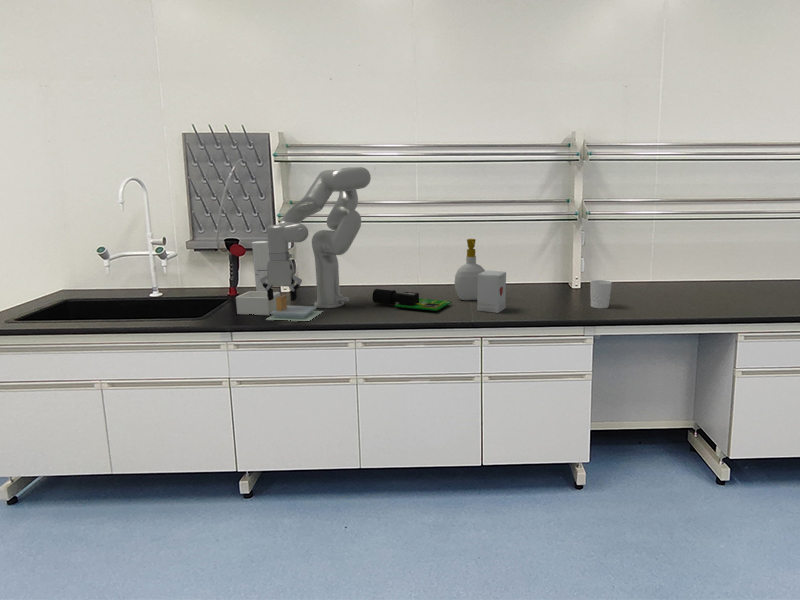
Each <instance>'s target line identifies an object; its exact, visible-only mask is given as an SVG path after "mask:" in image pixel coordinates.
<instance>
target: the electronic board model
mask: <svg viewBox="0 0 800 600" xmlns="http://www.w3.org/2000/svg"><path fill="white" fill-rule="evenodd" d="M372 301H373V303H375V304H380V305H381V304H382V305H391V306H394V307H397V308H399V310H405V309H407V310H406V311H414V310H416V309H417V310H424V311H425V310H426V311H428V310H429V311H434V312H435V311H437V312H438V311H439V310H441V309H442V308H445V307H446V306H448V305H450V304H451V303H453V301H450V300H443V299H442V300H440V299H430V298H421V297H420V293H419V292H413V291H412V292H409V291H405V292H402V293H401V292H397V291H396V290H395V289H388V288H387V289H386V288H375V289H374V290H373V292H372Z"/></svg>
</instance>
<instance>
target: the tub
mask: <svg viewBox="0 0 800 600" xmlns="http://www.w3.org/2000/svg"><path fill="white" fill-rule="evenodd" d="M273 296H274V299H272V300H268V296H267V292H258V291H256V290H255V291H252V290H249V291H247V292H244V293H242V294H240V295H237V296H236V297H235V304H236V305H235V306H236V313H237V315H249V314H252V315H253V314H254V315H255V316H256V315H257V316H271V315H270V312H272V311H274V310H276V309H277V305H276V298H277V297H279V296H281V292H280V291H279V292H278V291H273ZM254 315H253V316H254Z"/></svg>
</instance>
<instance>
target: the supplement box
mask: <svg viewBox="0 0 800 600" xmlns="http://www.w3.org/2000/svg"><path fill="white" fill-rule="evenodd" d="M506 289H507V271H502V270H501V271H498V270H497V271H496V270H485V271H484V272H481V273H480V274H478V300H477V302H476V303H477V307H476V308H477V309H476V310H477V311H478V312H485V313H494V314H496V313H497V314H498V313H500V312H502V311H504V310H505V309H506V298H507V296H506V295H507V290H506Z"/></svg>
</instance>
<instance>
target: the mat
mask: <svg viewBox="0 0 800 600" xmlns="http://www.w3.org/2000/svg"><path fill="white" fill-rule="evenodd" d="M322 312H323V313H324V310H313V311H312V313H311V314H310V315H308V316H307V317H305V318H304V319H303V318H279V317H275V315H274V314H271V315H269V317H267V318H266V319H265V321H274V320H288V321H287V322H297V321H310V320H311V321H313V320H314V319H316V318H317V317H318V315H319V314H320V315H321V313H322ZM323 313H322V314H323ZM320 315H319V316H320ZM316 316H317V317H316ZM315 317H316V318H315ZM313 318H314V319H313ZM312 319H313V320H312ZM290 320H291V321H290ZM311 321H310V322H311Z"/></svg>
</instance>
